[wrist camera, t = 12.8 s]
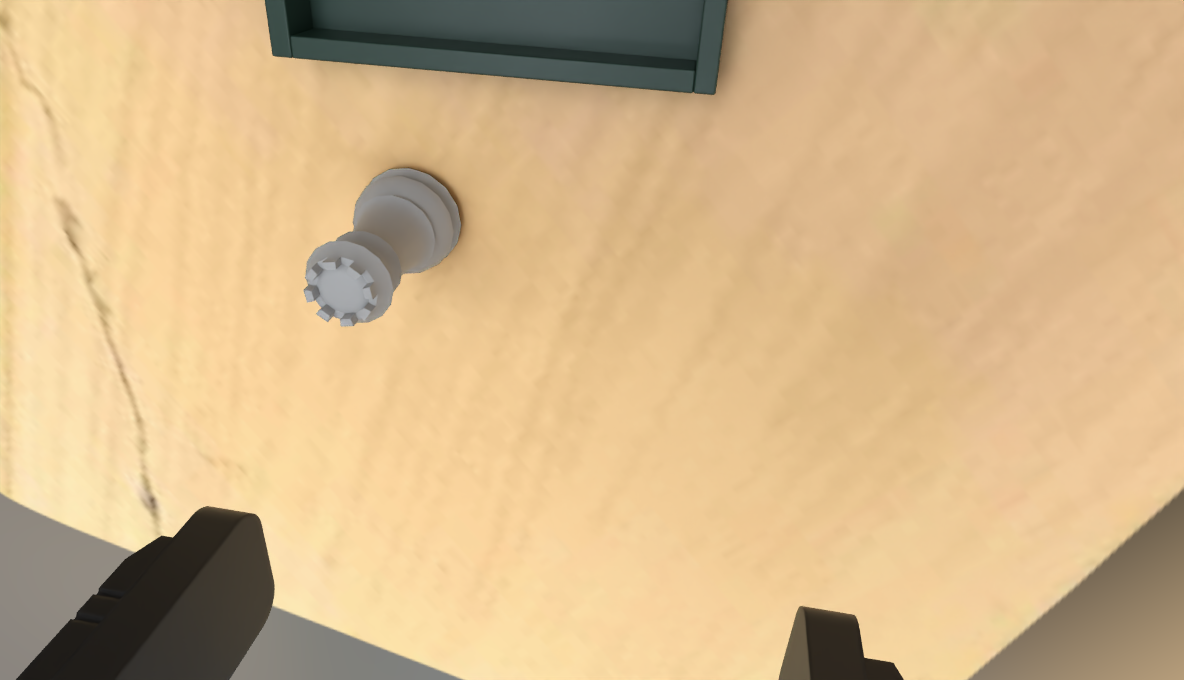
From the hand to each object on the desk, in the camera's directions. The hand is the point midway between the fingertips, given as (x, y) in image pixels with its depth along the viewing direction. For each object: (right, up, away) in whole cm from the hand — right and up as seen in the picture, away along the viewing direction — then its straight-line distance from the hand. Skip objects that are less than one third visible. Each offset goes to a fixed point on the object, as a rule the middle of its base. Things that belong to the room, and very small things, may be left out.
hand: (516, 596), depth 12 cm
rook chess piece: (-7, +9, +23) cm, 26 cm away
